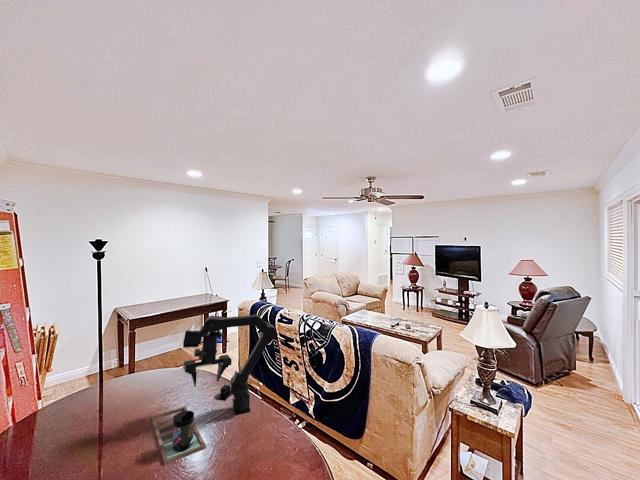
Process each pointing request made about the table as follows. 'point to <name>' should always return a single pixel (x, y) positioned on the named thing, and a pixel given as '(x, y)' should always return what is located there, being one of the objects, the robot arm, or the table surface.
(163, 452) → the compartment sorting tray
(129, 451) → the table surface
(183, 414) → the supplement container
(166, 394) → the table surface
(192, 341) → the robot arm
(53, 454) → the table surface
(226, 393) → the black box
